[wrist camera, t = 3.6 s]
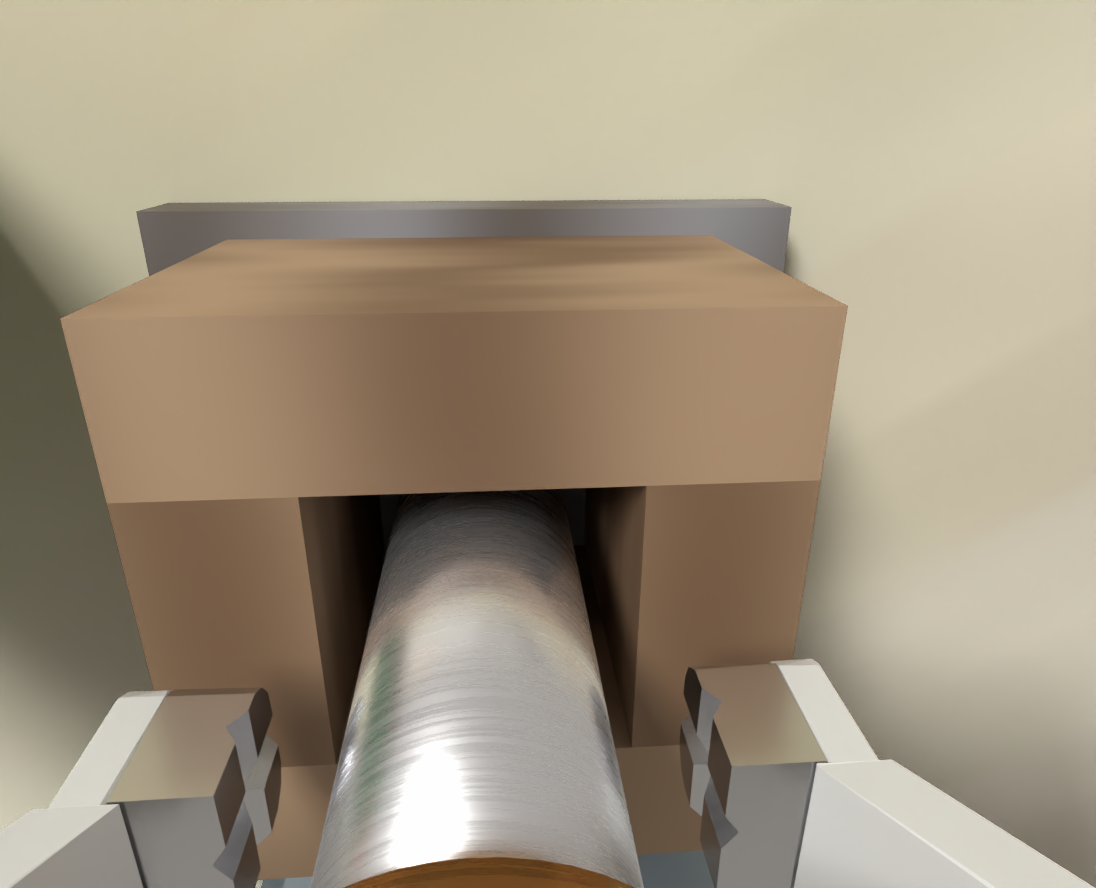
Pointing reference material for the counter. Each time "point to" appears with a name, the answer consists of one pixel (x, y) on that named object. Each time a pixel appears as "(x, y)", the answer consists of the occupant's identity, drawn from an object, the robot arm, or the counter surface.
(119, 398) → the bracket
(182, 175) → the counter surface
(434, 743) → the pin
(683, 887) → the tray
